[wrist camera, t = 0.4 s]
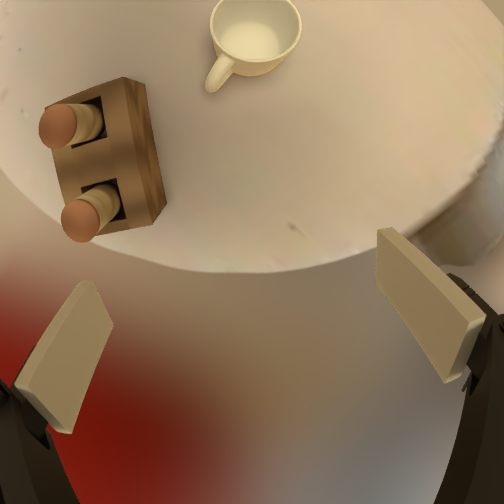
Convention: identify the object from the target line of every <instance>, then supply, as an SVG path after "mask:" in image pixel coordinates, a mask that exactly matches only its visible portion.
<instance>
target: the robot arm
mask: <svg viewBox="0 0 504 504" xmlns="http://www.w3.org/2000/svg"><path fill="white" fill-rule="evenodd" d="M375 282H376V284H377V285H378V287H379V288H380V289H381V291H382V292H383V293H384V295H385V296H386V298H387V299H388V300H389V302H390V303H391V304H392V306H393V307H394V309H395V310H396V312H397V313H398V314H399V316H400V317H401V318H402V320H403V321H404V323H405V324H406V326H407V327H408V329H409V330H410V332H411V333H412V335H413V336H414V337H415V339H416V340H417V342H418V343H419V345H420V346H421V348H422V349H423V351H424V352H425V354H426V355H427V357H428V359H429V360H430V362H431V363H432V365H433V366H434V368H435V369H436V371H437V373H438V374H439V376H440V377H441V379H442V380H443V382H444V383H447V382H450V381H452V380H454V379H456V378H458V377H460V376H461V375H462V373H463V371H464V369H465V367H466V365H467V366H468V367H469V368H470V370H471V373H470V375H469V377H468V379H467V381H466V383H465V384H464V386H463V389H462V391H463V392H464V391H465V389H466V387H467V390H466V395H465V401H464V406H463V411H462V415H461V420H460V424H459V428H458V433H457V436H456V440H455V444H454V447H453V451H452V454H451V457H450V460H449V463H448V466H447V469H446V472H445V476H444V478H443V481H442V484H441V486H440V489H439V491H438V494H437V497H436V499H435V501H434V504H504V314H500V315H498V314H497V313H496V312H495V311H494V310H493V309H492V308H491V307H490V306H489V305H488V304H487V303H486V302H485V301H484V300H483V299H482V298H481V297H480V296H479V295H478V294H476V293H475V291H474V290H473V289H471V288H469V286H468V285H467V284H466V283H465V282H464V281H463V280H462V279H461V278H459V277H457V276H455V275H453V274H451V273H449V274H445V273H444V272H443V271H442V270H440V269H439V268H438V267H437V266H436V265H435V264H434V263H433V262H432V261H431V260H430V259H428V258H427V257H426V256H425V255H424V254H423V253H422V252H421V251H419V250H418V249H417V248H416V247H415V246H414V245H413V244H411V243H410V242H409V241H408V240H407V239H405V238H404V237H403V236H402V235H401V234H400V233H398V232H397V231H396V230H395V229H394V228H392V227H391V228H385V229H379V230H377V258H376V276H375ZM112 328H113V323H112V321H111V319H110V317H109V315H108V313H107V311H106V309H105V307H104V304H103V302H102V300H101V298H100V296H99V294H98V291H97V289H96V287H95V285H94V282H93V280H92V279H91V280H85V281H80V282H79V283H78V284H77V286H76V287H75V289H74V290H73V291H72V293H71V294H70V295H69V297H68V298H67V300H66V301H65V303H64V304H63V305H62V307H61V308H60V310H59V311H58V313H57V314H56V316H55V317H54V319H53V320H52V322H51V323H50V325H49V326H48V328H47V329H46V331H45V333H44V334H43V336H42V337H41V339H40V340H39V342H38V343H37V344H36V345H35V347H33V349H32V350H31V352H30V354H29V355H28V358H27V359H26V360H25V362H24V365H23V366H22V367H21V369H20V371H19V373H18V374H17V376H16V378H15V380H14V381H13V383H12V385H11V387H10V389H9V388H8V387H7V385H6V384H5V383H4V382H3V380H2V379H1V378H0V504H80V502H79V500H78V499H77V496H76V494H75V492H74V490H73V488H72V486H71V484H70V482H69V479H68V477H67V475H66V473H65V470H64V468H63V465H62V463H61V460H60V458H59V455H58V453H57V450H56V447H55V445H54V442H53V439H52V437H51V434H50V432H49V431H48V430H47V429H46V427H47V424H48V423H49V424H50V425H51V426H52V427H53V428H54V429H55V430H56V431H57V432H63V433H69V434H71V433H72V430H73V427H74V424H75V421H76V419H77V416H78V413H79V410H80V407H81V404H82V401H83V399H84V396H85V393H86V391H87V388H88V385H89V383H90V380H91V378H92V375H93V373H94V370H95V368H96V365H97V363H98V360H99V358H100V356H101V353H102V351H103V348H104V346H105V344H106V341H107V339H108V337H109V334H110V332H111V330H112Z"/></svg>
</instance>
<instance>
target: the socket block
mask: <svg viewBox="0 0 504 504" xmlns="http://www.w3.org/2000/svg"><path fill="white" fill-rule="evenodd" d="M54 104H96V105H99V106H101V107H103V114H104V119H105V125H106V131H107V136H108V137H107V138H103V139H100V136H99V137H98V138H96V139H93V140H88V141H84V142H80V143H76V144H72V145H68V146H64V147H61V148H56V149H52V148H51V149H52V154H53V159H54V163H55V168H56V172H57V176H58V180H59V184H60V188H61V192H62V195H63V199H64V203H65V206H66V205H67V204H68V203H70V202H71V201H73V200H74V199H76V198H77V197H79V196H81V195H82V194H84V193H85V192H87V191H89V190H90V189H92V188H94V187H95V186H97V185H99V184H100V183H103V182H109V179H113V178H116V179H117V183H118V187H119V191H120V195H121V199H122V203H123V207H122V209H121V211H120V212H119V213H118V214H117V215H116V216H114V217H113V218H112V219H111V220H110V221H109V222H108V223H107V224H106V225H105V226H104V227H103V228H102V229H101V230H100V231H99V232H98V233H97V234H96V235H95V236H98V235H103V234H108V233H112V232H117V231H123V230H128V229H133V228H138V227H143V226H149V225H153V223H154V222H155V220H156V219H157V217H158V216H159V214H160V213H161V211H162V210H163V209H164V207H165V206H166V204H167V201H166V197H165V192H164V188H163V183H162V178H161V174H160V169H159V164H158V159H157V154H156V148H155V143H154V138H153V132H152V127H151V121H150V115H149V109H148V103H147V96H146V90H145V84H142V83H140V82H137V81H134V80H131V79H128V78H125V77H121V78H118V79H115V80H112V81H109V82H106V83H103V84H101V85H98V86H95V87H92V88H90V89H87V90H85V91H82V92H80V93H77V94H75V95H72V96H70V97H67V98H65V99H63V100H61V101H58V102H56V103H54ZM54 104H52V105H54ZM52 105H50V106H52ZM50 106H47V107H45V111H46V110H47V109H48V108H49V107H50Z"/></svg>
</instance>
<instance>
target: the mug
mask: <svg viewBox="0 0 504 504" xmlns="http://www.w3.org/2000/svg"><path fill="white" fill-rule="evenodd" d="M209 24H210V32H211V36H212V40H213V44H214V48H215V52H216V55H217V57H218V59H217V60H216V62H215V63H214V65H213V67H212V68H211V70H210V72H209V74H208V76H207V78H206V81H205V89H206V91H207V92H210V93H213V92H215V91H217V90H218V89H219V88H220V87H221V86H222V85H223V84H224V83H225V81H226V80H227V79H228V78H229V77H230V76H231V74H232V73H235V74H238V75H242V76H250V77H251V76H259V75H263V74H265V73H268V72H269V71H271V70H273V69H274V68H275V67H276V66H277V65H278V64H279V63H280V62H281V61H282V60H283V59H284V58H285V57H286V56H287V55H288V53H289V52H290V51H291V50H292V49H293V48H294V47H295V46H296V44H297V43H298V41H299V39H300V36H301V32H302V21H301V17H300V14H299V12H298V10H297V9H296V7H295V6H294V4H293V3H292V2H291V1H290V0H220V1H219V2H218V3H217V4H216V6H215V7H214V9H213V11H212V13H211V17H210V23H209Z"/></svg>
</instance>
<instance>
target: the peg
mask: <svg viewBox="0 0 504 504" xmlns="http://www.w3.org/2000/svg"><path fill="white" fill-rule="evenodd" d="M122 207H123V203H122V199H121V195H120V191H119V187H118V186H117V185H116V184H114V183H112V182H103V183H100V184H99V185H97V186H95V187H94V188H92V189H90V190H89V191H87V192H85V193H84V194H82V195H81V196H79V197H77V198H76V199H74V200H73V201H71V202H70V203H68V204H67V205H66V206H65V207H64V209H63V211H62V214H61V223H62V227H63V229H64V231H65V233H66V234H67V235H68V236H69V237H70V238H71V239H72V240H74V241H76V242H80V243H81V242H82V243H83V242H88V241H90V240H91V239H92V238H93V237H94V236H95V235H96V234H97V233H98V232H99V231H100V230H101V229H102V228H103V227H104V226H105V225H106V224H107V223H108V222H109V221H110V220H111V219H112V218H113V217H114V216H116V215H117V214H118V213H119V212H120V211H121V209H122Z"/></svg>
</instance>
